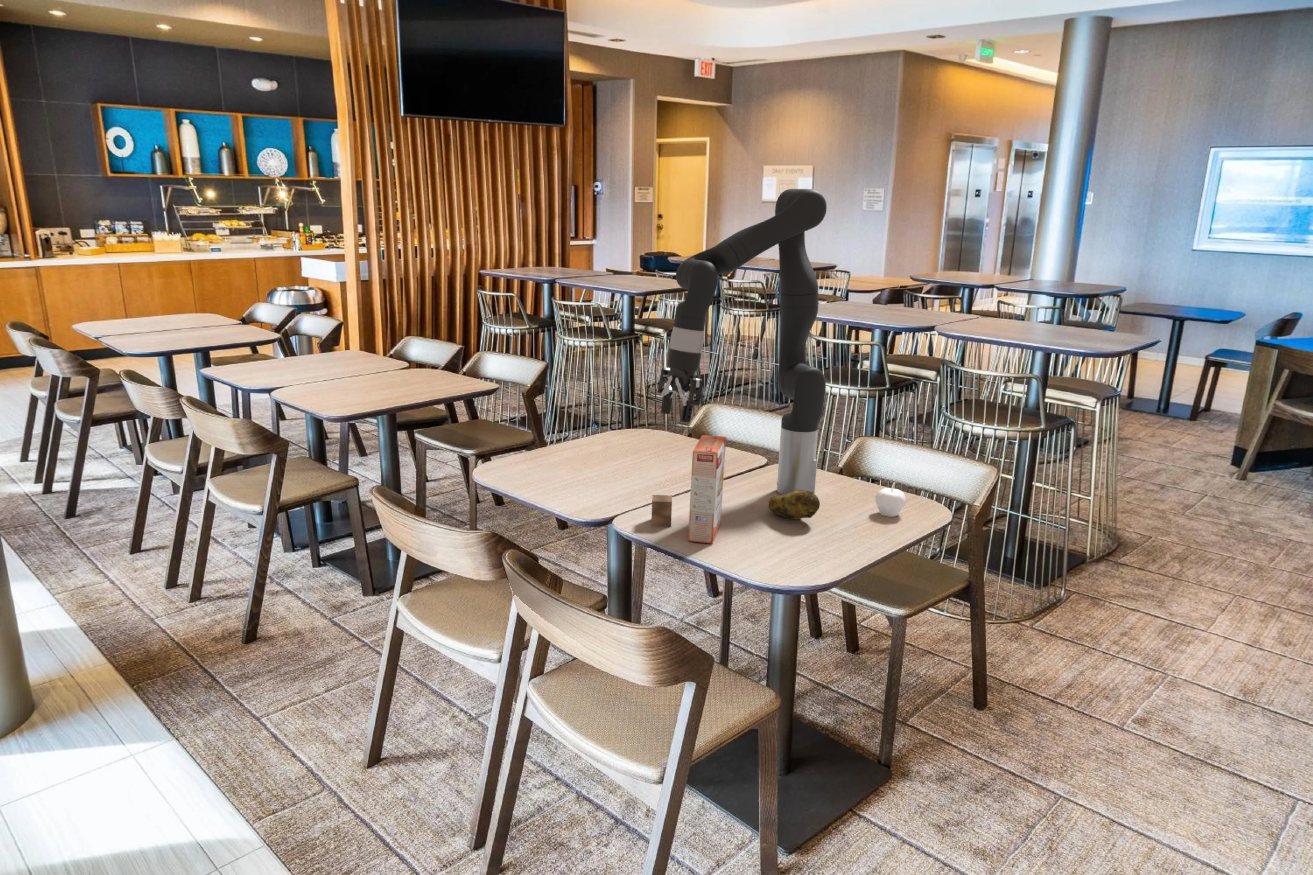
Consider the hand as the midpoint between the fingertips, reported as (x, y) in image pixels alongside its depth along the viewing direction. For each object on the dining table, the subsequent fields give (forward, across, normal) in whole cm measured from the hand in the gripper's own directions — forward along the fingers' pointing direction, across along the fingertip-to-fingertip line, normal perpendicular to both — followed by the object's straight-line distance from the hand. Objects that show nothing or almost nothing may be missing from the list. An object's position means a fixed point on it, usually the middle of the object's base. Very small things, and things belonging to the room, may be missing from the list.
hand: (674, 417), depth 201 cm
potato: (+20, -18, -26) cm, 37 cm away
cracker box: (+23, -15, -3) cm, 28 cm away
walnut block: (+24, -5, +3) cm, 25 cm away
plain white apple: (+17, -26, -49) cm, 58 cm away
